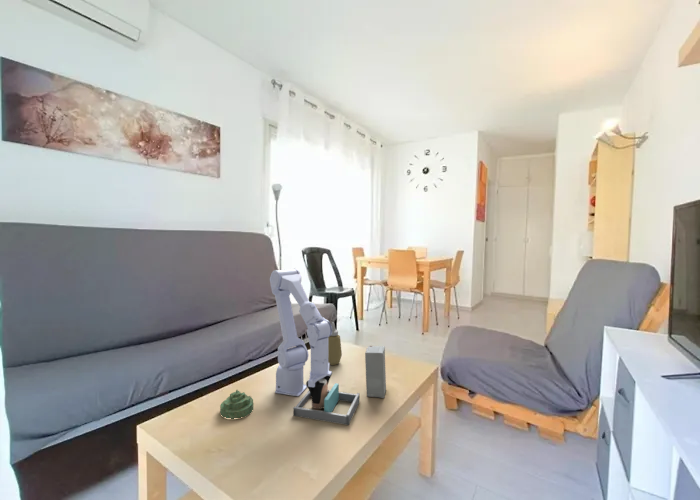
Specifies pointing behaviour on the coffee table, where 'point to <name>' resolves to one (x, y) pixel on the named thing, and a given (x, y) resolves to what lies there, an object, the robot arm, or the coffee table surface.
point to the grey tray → (328, 415)
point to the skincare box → (375, 371)
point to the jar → (322, 394)
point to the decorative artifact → (236, 405)
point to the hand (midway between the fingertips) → (319, 398)
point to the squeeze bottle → (334, 347)
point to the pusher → (331, 398)
